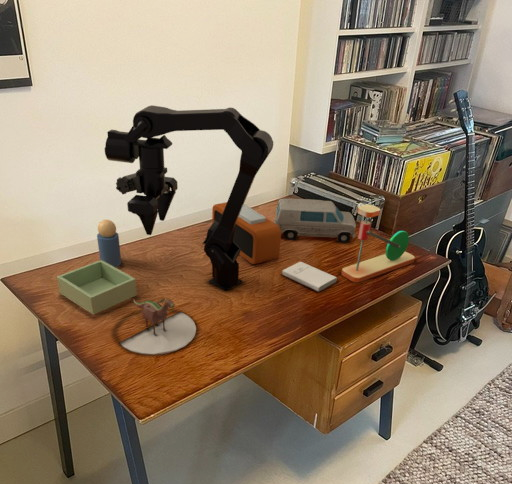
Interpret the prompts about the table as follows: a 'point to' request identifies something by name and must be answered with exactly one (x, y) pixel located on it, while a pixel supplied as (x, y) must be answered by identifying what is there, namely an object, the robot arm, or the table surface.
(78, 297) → the green square tray
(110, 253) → the peg doll
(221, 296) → the table surface
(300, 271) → the hard drive
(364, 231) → the crank mechanism
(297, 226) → the toy car
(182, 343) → the dinosaur
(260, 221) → the alarm clock
